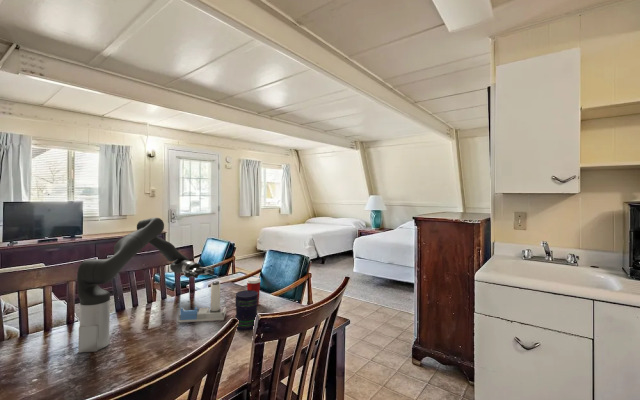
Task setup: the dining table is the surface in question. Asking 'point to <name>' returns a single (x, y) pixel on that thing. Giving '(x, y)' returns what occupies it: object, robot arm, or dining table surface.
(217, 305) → the off-white tall block
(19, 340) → the dining table surface
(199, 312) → the grey blue holder base
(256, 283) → the paper cup
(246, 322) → the storage jar
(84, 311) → the robot arm
